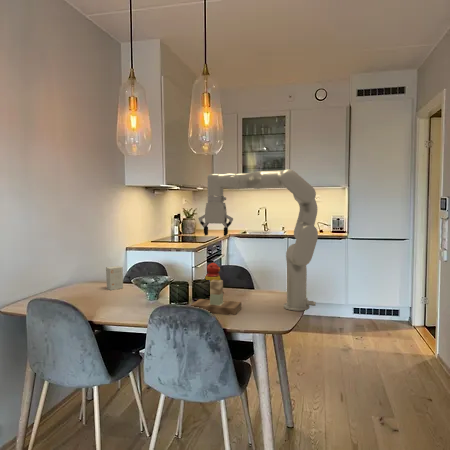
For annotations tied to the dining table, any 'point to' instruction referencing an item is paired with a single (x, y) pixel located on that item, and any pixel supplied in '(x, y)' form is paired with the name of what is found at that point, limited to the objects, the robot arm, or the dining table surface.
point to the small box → (114, 277)
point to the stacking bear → (213, 272)
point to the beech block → (216, 287)
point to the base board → (218, 306)
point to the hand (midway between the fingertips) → (215, 235)
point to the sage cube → (216, 299)
